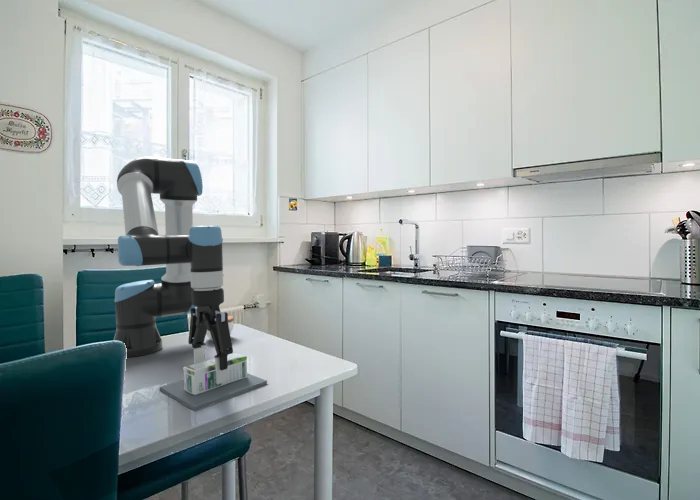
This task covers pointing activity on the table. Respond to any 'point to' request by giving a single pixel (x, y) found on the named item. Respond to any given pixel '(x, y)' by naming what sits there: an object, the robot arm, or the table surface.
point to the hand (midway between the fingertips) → (210, 377)
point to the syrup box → (213, 374)
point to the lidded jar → (230, 324)
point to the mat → (211, 392)
